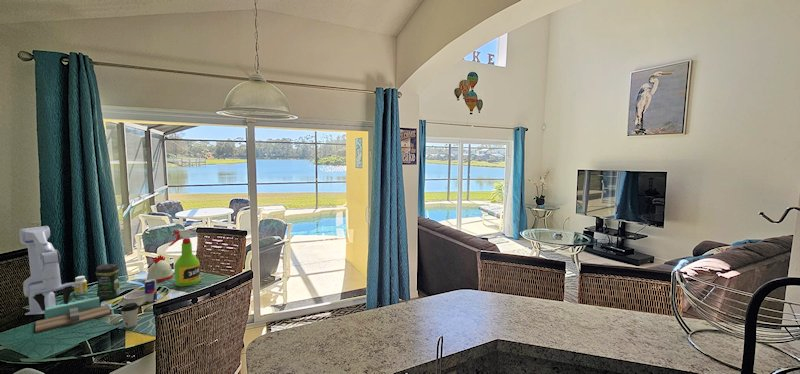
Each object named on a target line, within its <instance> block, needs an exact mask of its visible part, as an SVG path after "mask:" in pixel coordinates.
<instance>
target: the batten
mask: <svg viewBox="0 0 800 374" xmlns="http://www.w3.org/2000/svg"><path fill="white" fill-rule="evenodd" d="M99 306H101V302H100V298H99V297H97V296H95V297H91V298H90V297H89V298H86V299H85V298H84V299H80V300H75V301H71V302H68V304H64V303H62V304H56V306H51V307H46V308H45V310H44V319H47V318H52V317H56V316H61V315H65V314H69V313H70V311H69V309H70V308H74V307H78V311H82V310H86V309H91V308H95V307H99Z"/></svg>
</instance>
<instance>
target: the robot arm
mask: <svg viewBox="0 0 800 374" xmlns="http://www.w3.org/2000/svg"><path fill="white" fill-rule="evenodd" d="M18 236H19V243H20V244H21V245H25V246H26V247H27V252H28V253H27V254H28V263H29V272H30V276H29V277H28V278H26V279H25V280H24V281H23V284H22V285H23V287H22V290H23V294H24V297H26V298H27V297H28V304H29V311H28V312H26V313H24V316H30V315H31V316H32V315H43V314H44V315H45V313H44V310H45V308H46V307H51V306H56V305H57V304H56V303H57V302H56V293H54V292H55V291H60V290H61V292H62V298H63V304H68V303H69V300H70V295H71V294H72V292H73V291H74V286H75V285H74V282H75V281H74V282H73V281H72V282H65V283H63V284H62V279H61V270H60V262H61V254H60V252H59V250H58V249H55V247H54V246H53V244H52V242H49V241H48V240H49V238H50V237H51V230H50V227H49V226H48V225H43V226H37V227H28V228H27V227H26V228H20V229H19V231H18Z"/></svg>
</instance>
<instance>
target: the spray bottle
mask: <svg viewBox="0 0 800 374" xmlns="http://www.w3.org/2000/svg"><path fill="white" fill-rule="evenodd" d="M191 234H194V232H193V231H191V230H189V229H176V230H173V235H176V238H174V239H173V241H172V242H170V244H169V245H168V247H171V246H174V244H175V243H177V242H178V241H180V240H181V239H182V243H181V255H180V256H179V257H178V259H176V261H175V262H174V265H173V268H174V269H173V271H174V285H175V286H177V287H190V286H193V285H196V284H198V283H200V282H201V266H200V265H201V264H200V260H199V258H198V257H196V256H195V255H194V254H193V246H192V241H191Z"/></svg>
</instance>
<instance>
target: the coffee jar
mask: <svg viewBox="0 0 800 374" xmlns="http://www.w3.org/2000/svg"><path fill="white" fill-rule="evenodd" d="M119 271H120V269H119V265H118V264H116V263H114V264H113V263H112V264H111V263H110V264H109V263H108V264H99V265H97V267H96V268H95V275H96V278H97V289H96V292H97V293H96V297H99V300H101V299H113V298H115V297H118V296H119V295H121V289H120V282H119Z"/></svg>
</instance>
